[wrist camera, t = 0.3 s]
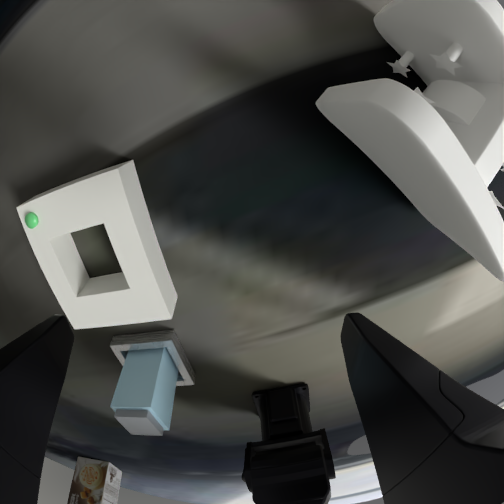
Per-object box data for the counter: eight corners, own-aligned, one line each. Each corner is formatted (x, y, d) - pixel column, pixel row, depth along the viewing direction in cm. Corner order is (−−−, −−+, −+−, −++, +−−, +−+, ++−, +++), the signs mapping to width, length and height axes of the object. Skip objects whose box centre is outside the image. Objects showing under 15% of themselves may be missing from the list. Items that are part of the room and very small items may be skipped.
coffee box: (92, 466, 48) (81, 519, 33) (77, 455, 45) (64, 511, 30) (123, 472, 47) (114, 529, 33) (109, 461, 44) (97, 523, 30)
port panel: (177, 296, 25) (171, 322, 22) (86, 309, 25) (72, 332, 22) (133, 159, 19) (115, 169, 16) (36, 195, 20) (13, 209, 17)
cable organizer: (295, 97, 18) (363, 87, 8) (376, 7, 14) (475, -39, 4) (422, 220, 23) (509, 294, 12) (483, 138, 19) (580, 175, 9)
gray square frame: (195, 374, 30) (194, 384, 28) (140, 377, 30) (137, 387, 29) (174, 329, 27) (171, 340, 25) (113, 335, 27) (109, 345, 25)
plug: (179, 367, 29) (168, 437, 21) (146, 369, 29) (129, 436, 21) (165, 340, 27) (149, 415, 19) (130, 344, 27) (108, 413, 20)
